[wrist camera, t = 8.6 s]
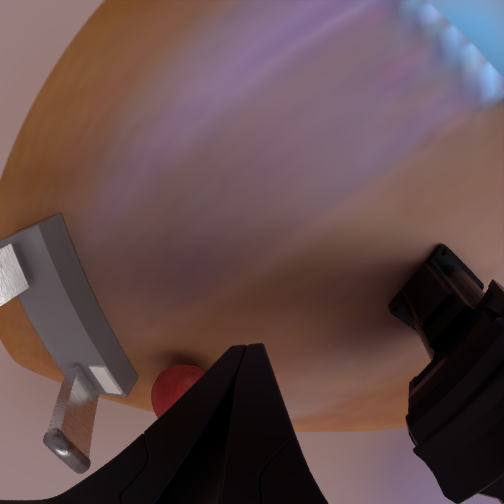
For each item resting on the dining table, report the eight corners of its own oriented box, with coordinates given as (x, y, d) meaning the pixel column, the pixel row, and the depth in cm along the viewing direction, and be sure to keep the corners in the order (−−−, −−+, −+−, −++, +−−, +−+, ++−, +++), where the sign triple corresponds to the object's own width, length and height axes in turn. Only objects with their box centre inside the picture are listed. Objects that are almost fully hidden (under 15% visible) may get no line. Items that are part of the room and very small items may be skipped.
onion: (239, 366, 25) (222, 441, 18) (211, 396, 27) (192, 462, 20) (180, 334, 24) (145, 405, 17) (159, 369, 27) (128, 432, 19)
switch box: (61, 212, 21) (35, 225, 18) (138, 376, 28) (126, 399, 25) (14, 232, 23) (-8, 244, 20) (86, 373, 29) (73, 391, 26)
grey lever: (81, 365, 24) (59, 445, 14) (100, 394, 25) (89, 473, 16) (65, 369, 23) (41, 446, 14) (85, 397, 25) (71, 473, 16)
